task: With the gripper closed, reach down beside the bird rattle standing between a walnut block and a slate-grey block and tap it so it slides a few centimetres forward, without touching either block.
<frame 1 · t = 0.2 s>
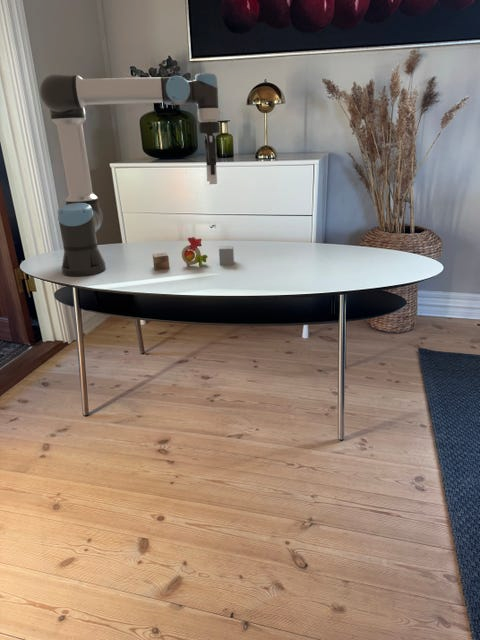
hand: (212, 182, 181), 28 cm above the table, fingers open, 13 cm apart
bird rattle: (194, 266, 176), on the table
grey block: (226, 263, 178), on the table
walnut block: (161, 268, 175), on the table
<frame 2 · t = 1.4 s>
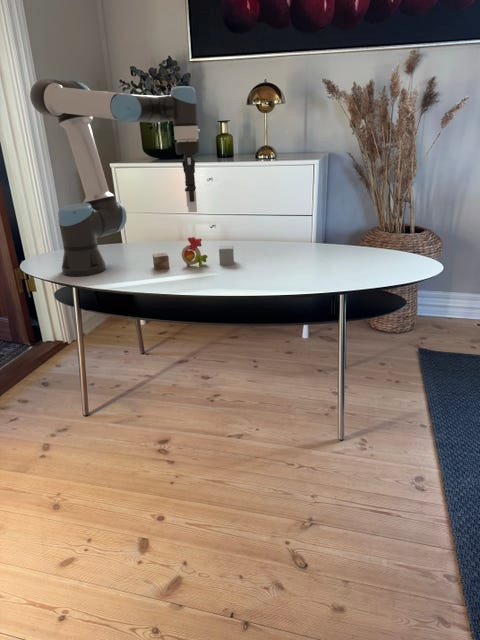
hand: (191, 209, 159), 22 cm above the table, fingers open, 13 cm apart
nothing on the table moved.
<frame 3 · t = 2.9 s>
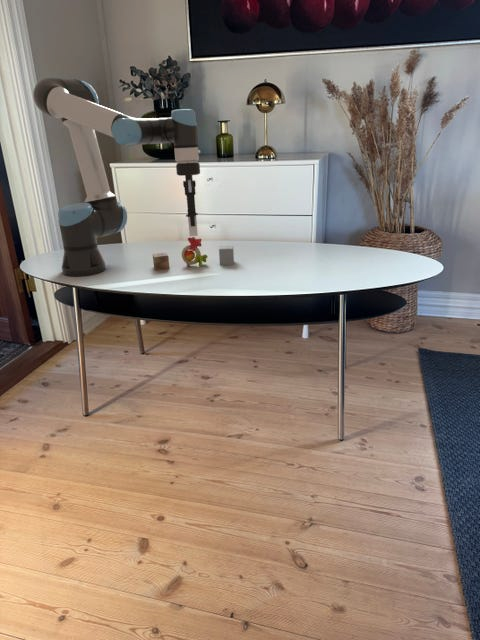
hand: (193, 235, 161), 13 cm above the table, fingers closed
nothing on the table moved.
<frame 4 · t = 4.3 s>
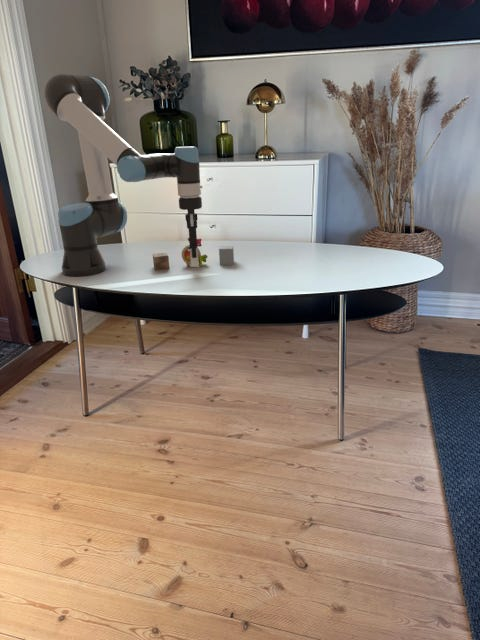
hand: (194, 266, 166), 2 cm above the table, fingers closed
nothing on the table moved.
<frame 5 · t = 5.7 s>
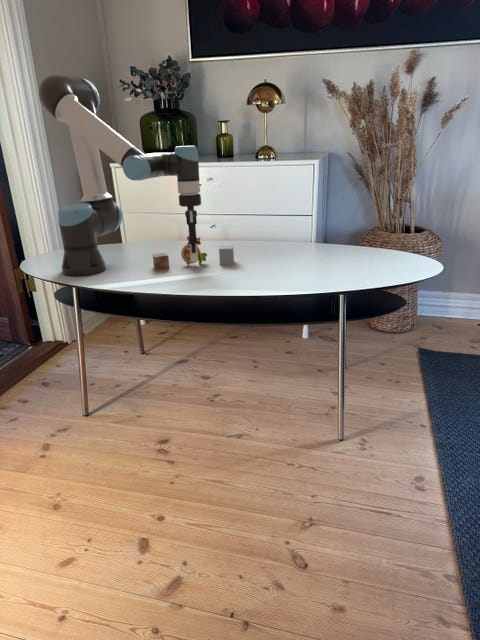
hand: (194, 261, 172), 2 cm above the table, fingers closed
bird rattle: (194, 265, 176), on the table, touching gripper, hand
everything else where it was.
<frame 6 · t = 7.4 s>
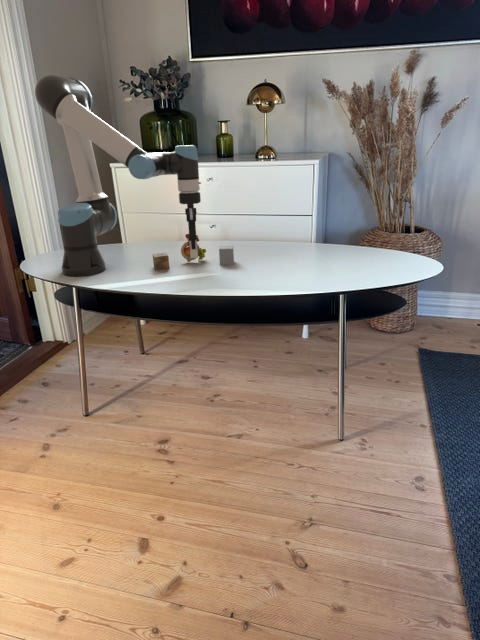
hand: (194, 257, 177), 3 cm above the table, fingers closed
bird rattle: (195, 261, 180), on the table, touching gripper, hand
everything else where it was.
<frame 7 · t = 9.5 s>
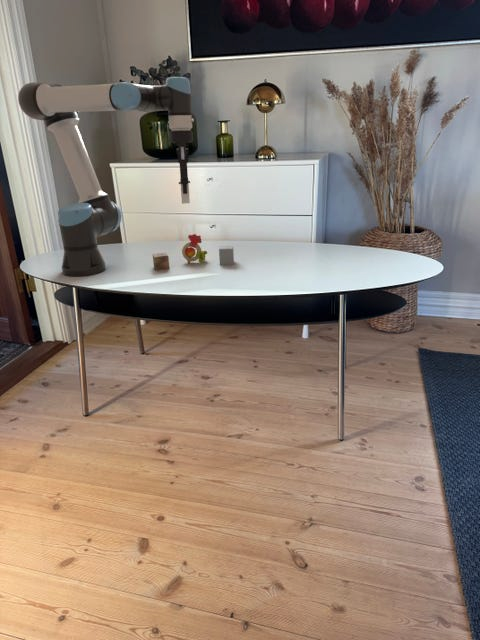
hand: (185, 203, 166), 23 cm above the table, fingers closed
bird rattle: (195, 262, 181), on the table
everything else where it was.
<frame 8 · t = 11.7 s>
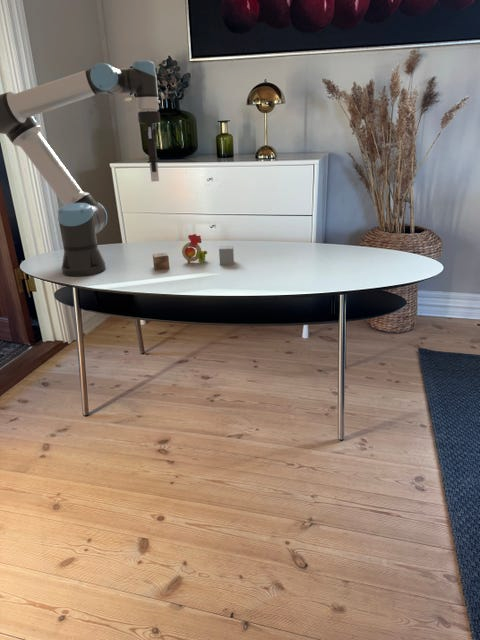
hand: (155, 181, 176), 29 cm above the table, fingers closed
nothing on the table moved.
at the end: bird rattle moved 5.3 cm from its start; walnut block moved 0.1 cm from its start; grey block moved 0.1 cm from its start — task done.
